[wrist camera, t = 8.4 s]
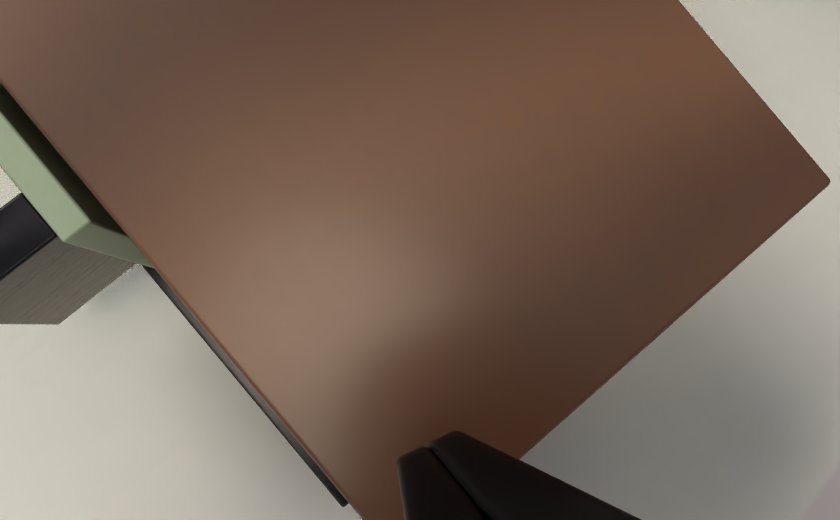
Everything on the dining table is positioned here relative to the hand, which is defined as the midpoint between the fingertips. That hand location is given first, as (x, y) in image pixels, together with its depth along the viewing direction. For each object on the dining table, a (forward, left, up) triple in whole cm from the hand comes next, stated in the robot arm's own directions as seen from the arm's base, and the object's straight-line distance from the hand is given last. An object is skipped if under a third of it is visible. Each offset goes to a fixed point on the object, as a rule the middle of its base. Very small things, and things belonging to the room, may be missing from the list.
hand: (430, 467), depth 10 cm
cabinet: (+7, -2, -12) cm, 14 cm away
